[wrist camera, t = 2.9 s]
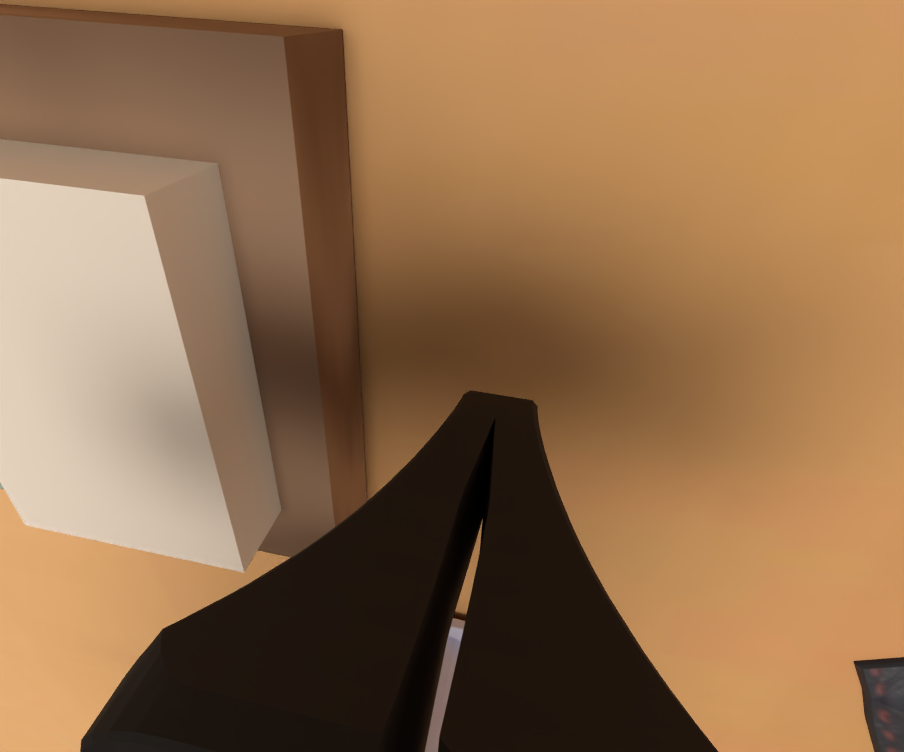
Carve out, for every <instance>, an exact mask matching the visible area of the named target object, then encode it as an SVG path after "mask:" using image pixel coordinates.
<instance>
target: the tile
mask: <svg viewBox="0 0 904 752" xmlns="http://www.w3.org/2000/svg"><path fill="white" fill-rule="evenodd" d="M0 483H1V485H2V486H3V488H4V490H5V491H6V493H7V495H8V497H9V498H10V500H11V502H12V503H13V505H14V507H15V508H16V510H17V512H18V514H19V515H20V517H21V519H22V520H23V522H24V524H25V525H27V526H31V527H36V528H41V529H45V530H50V531H55V532H59V533H64V534H68V535H73V536H78V537H82V538H87V539H91V540H96V541H101V542H105V543H110V544H115V545H119V546H124V547H128V548H133V549H138V550H142V551H147V552H151V553H156V554H161V555H165V556H170V557H175V558H179V559H184V560H188V561H193V562H198V563H202V564H207V565H211V566H216V567H221V568H225V569H230V570H235V571H239V572H245V570H246V569H247V567H248V565H249V564H250V562H251V560H252V559H253V557H254V555H255V554H256V552H257V550H258V549H259V547H260V545H261V544H262V542H263V540H264V539H265V537H266V535H267V534H268V532H269V530H270V528H271V527H272V525H273V523H274V522H275V520H276V518H277V517H278V515H279V513H280V512H281V505H280V500H279V494H278V489H277V484H276V478H275V473H274V467H273V462H272V456H271V451H270V445H269V440H268V435H267V429H266V424H265V418H264V413H263V407H262V402H261V396H260V391H259V386H258V380H257V375H256V369H255V364H254V358H253V353H252V347H251V342H250V337H249V331H248V326H247V320H246V315H245V309H244V304H243V298H242V293H241V288H240V282H239V277H238V271H237V266H236V260H235V255H234V249H233V244H232V239H231V233H230V228H229V222H228V217H227V211H226V206H225V200H224V195H223V190H222V184H221V179H220V173H219V168H218V163H211V162H202V161H193V160H184V159H175V158H166V157H157V156H148V155H139V154H130V153H121V152H113V151H104V150H95V149H86V148H77V147H68V146H59V145H50V144H41V143H32V142H23V141H14V140H5V139H0Z"/></svg>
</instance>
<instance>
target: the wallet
mask: <svg viewBox="0 0 904 752" xmlns="http://www.w3.org/2000/svg"><path fill="white" fill-rule="evenodd" d="M854 664H855V667H856V670H857V674H858V677H859V680H860V683H861V686H862V692H863V702H864V712H865V718H866V722H867V725H868V729H869V733H870V736H871V740H872V744H873V747H874V751H875V752H904V657H902V658H889V659H876V660H863V661H854Z"/></svg>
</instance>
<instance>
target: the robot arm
mask: <svg viewBox="0 0 904 752" xmlns="http://www.w3.org/2000/svg"><path fill="white" fill-rule="evenodd" d="M482 518H483V522H482ZM481 522H482V533H481V545H480V554H479V559H478V564H477V569H476V573H475V578H474V583H473V588H472V592H471V597H470V602H469V606H468V611H467V615H466V620H465V621H464V620H459V619H455V618H453V616H454V613H455V609H456V606H457V602H458V599H459V596H460V592H461V589H462V586H463V582H464V579H465V576H466V572H467V569H468V566H469V562H470V559H471V556H472V552H473V549H474V546H475V542H476V539H477V535H478V532H479V529H480V525H481ZM80 751H81V752H718V751H717V749H716V748H715V747H714V746H713V744H712V743H711V742H710V741H709V739H708V738H707V737H706V736H705V734H704V733H703V732H702V731H701V729H700V728H699V727H698V725H697V724H696V723H695V722H694V720H693V719H692V718H691V716H690V715H689V714H688V712H687V711H686V710H685V708H684V707H683V706H682V704H681V703H680V702H679V700H678V699H677V698H676V696H675V695H674V694H673V693H672V691H671V690H670V688H669V687H668V686H667V684H666V683H665V681H664V680H663V679H662V677H661V676H660V674H659V673H658V671H657V670H656V669H655V667H654V666H653V664H652V663H651V662H650V660H649V659H648V657H647V656H646V654H645V653H644V652H643V650H642V648H641V647H640V645H639V644H638V642H637V641H636V639H635V637H634V636H633V634H632V633H631V631H630V630H629V628H628V626H627V625H626V623H625V622H624V620H623V618H622V617H621V615H620V614H619V612H618V611H617V609H616V607H615V606H614V604H613V603H612V601H611V600H610V598H609V596H608V594H607V593H606V591H605V589H604V587H603V586H602V584H601V582H600V580H599V578H598V577H597V575H596V573H595V571H594V569H593V568H592V566H591V564H590V562H589V560H588V558H587V556H586V554H585V552H584V550H583V548H582V546H581V544H580V542H579V540H578V538H577V535H576V533H575V531H574V529H573V527H572V524H571V522H570V520H569V517H568V515H567V512H566V510H565V508H564V505H563V503H562V500H561V498H560V495H559V492H558V490H557V487H556V484H555V481H554V478H553V475H552V472H551V469H550V466H549V463H548V460H547V457H546V453H545V450H544V446H543V441H542V437H541V433H540V428H539V422H538V414H537V405H536V404H535V403H534V402H533V400H527V399H520V398H514V397H508V396H502V395H495V394H489V393H483V392H477V391H471V390H470V391H469V392H467V393H465V394H464V395H463V397H462V399H461V400H460V402H459V403H458V405H457V406H456V408H455V409H454V410H453V412H452V413H451V414H450V416H449V417H448V418H447V420H446V421H445V422H444V423H443V425H442V426H441V427H440V428H439V430H438V431H437V432H436V433H435V434H434V435H433V436H432V438H431V439H430V440H429V441H428V442H427V443H426V444H425V446H424V447H423V448H422V449H421V450H420V451H419V452H418V453H417V454H416V456H415V457H414V458H413V459H412V460H411V461H410V462H409V463H408V464H407V465H406V466H405V467H404V468H403V469H402V470H401V471H400V472H399V473H398V474H397V475H396V476H395V477H394V478H393V479H392V480H390V481H389V482H388V483H387V484H386V485H385V486H384V487H383V488H382V489H381V490H380V491H379V492H377V493H376V494H375V495H374V496H373V497H372V498H371V499H369V500H368V501H367V502H366V503H365V504H364V505H362V506H361V507H360V508H359V509H357V510H356V511H355V512H354V513H353V514H351V515H350V516H349V517H348V518H346V519H345V520H344V521H342V522H341V523H340V524H338V525H337V526H336V527H334V528H333V529H332V530H330V531H329V532H328V533H326V534H325V535H323V536H322V537H321V538H319V539H318V540H317V541H315V542H314V543H312V544H311V545H309V546H308V547H307V548H305V549H304V550H302V551H301V552H299V553H298V554H296V555H294V556H293V557H291V558H290V559H288V560H286V561H285V562H283V563H282V564H280V565H278V566H277V567H275V568H273V569H272V570H270V571H269V572H267V573H265V574H264V575H262V576H261V577H259V578H257V579H256V580H254V581H252V582H251V583H249V584H247V585H246V586H244V587H242V588H240V589H239V590H237V591H235V592H233V593H231V594H230V595H228V596H226V597H224V598H222V599H220V600H218V601H216V602H214V603H212V604H210V605H209V606H207V607H205V608H203V609H201V610H199V611H197V612H195V613H193V614H191V615H189V616H188V617H186V618H184V619H182V620H180V621H178V622H176V623H174V624H172V625H170V626H168V627H166V628H164V629H162V631H161V632H160V633H159V634H158V636H157V637H156V638H155V639H154V641H153V642H152V643H151V644H150V646H149V647H148V648H147V649H146V650H145V651H144V653H143V654H142V655H141V656H140V657H139V658H138V660H137V661H136V662H135V664H134V665H133V666H132V668H131V669H130V670H129V671H128V673H127V674H126V676H125V677H124V678H123V680H122V681H121V683H120V684H119V686H118V687H117V689H116V690H115V692H114V693H113V695H112V696H111V698H110V699H109V701H108V702H107V703H106V705H105V706H104V708H103V709H102V711H101V712H100V714H99V715H98V717H97V718H96V720H95V721H94V723H93V724H92V725H91V727H90V728H89V730H88V731H87V733H86V734H85V736H84V737H83V739H82V740H81V750H80Z"/></svg>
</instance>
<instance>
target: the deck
mask: <svg viewBox="0 0 904 752" xmlns="http://www.w3.org/2000/svg"><path fill="white" fill-rule="evenodd" d="M0 139H5V140H14V141H23V142H32V143H41V144H50V145H59V146H68V147H77V148H86V149H95V150H104V151H113V152H121V153H130V154H139V155H148V156H157V157H166V158H175V159H184V160H193V161H202V162H211V163H218V168H219V173H220V179H221V184H222V190H223V195H224V200H225V206H226V211H227V217H228V222H229V228H230V233H231V239H232V244H233V249H234V255H235V260H236V266H237V271H238V277H239V282H240V288H241V293H242V298H243V304H244V309H245V315H246V320H247V326H248V331H249V337H250V342H251V347H252V353H253V358H254V364H255V369H256V375H257V380H258V386H259V391H260V396H261V402H262V407H263V413H264V418H265V424H266V429H267V435H268V440H269V445H270V451H271V456H272V462H273V467H274V473H275V478H276V484H277V489H278V494H279V500H280V505H281V512H280V513H279V515H278V517H277V518H276V520H275V522H274V523H273V525H272V527H271V528H270V530H269V532H268V534H267V535H266V537H265V539H264V540H263V542H262V544H261V545H260V547H259V549H258V550H259V551H263V552H268V553H273V554H278V555H282V556H287V557H293V556H294V555H296V554H298V553H299V552H301V551H302V550H304V549H305V548H307V547H308V546H309V545H311V544H312V543H314V542H315V541H317V540H318V539H319V538H321V537H322V536H323V535H325V534H326V533H328V532H329V531H330V530H332V529H333V528H334V527H336V526H337V525H338V524H340V523H341V522H342V521H344V520H345V519H346V518H348V517H349V516H350V515H351V514H353V513H354V512H355V511H356V510H357V509H359V508H360V507H361V506H362V505H364V504H365V503H366V502H367V490H366V471H365V452H364V433H363V414H362V395H361V376H360V357H359V338H358V319H357V300H356V281H355V262H354V243H353V224H352V205H351V186H350V167H349V148H348V129H347V110H346V91H345V72H344V53H343V34H342V30H341V29H328V28H314V27H301V26H287V25H274V24H260V23H247V22H233V21H220V20H206V19H193V18H179V17H166V16H152V15H139V14H126V13H112V12H99V11H85V10H72V9H58V8H45V7H31V6H18V5H4V4H0Z"/></svg>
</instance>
